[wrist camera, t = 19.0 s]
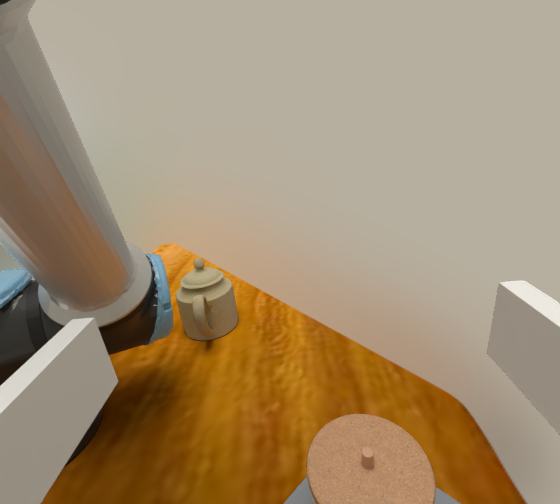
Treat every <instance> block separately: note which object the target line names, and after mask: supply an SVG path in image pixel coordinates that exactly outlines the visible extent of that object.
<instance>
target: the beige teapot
mask: <svg viewBox="0 0 560 504" xmlns="http://www.w3.org/2000/svg"><path fill="white" fill-rule="evenodd" d="M194 267H195V268H196V269H195V270H192V271H190V272H189V273H187V274H186V276H185V277H183V278H182V280H181V281H180V285H181V286H182V287H181V288H180V289H179V290H178V291H177V293H176V299H177V304H178V308H179V312H180V315H181V319H182V322H183V326H184V329H185V332H186V334H187V336H188V337H190V338H192V339H195V340H200V341H206V340H212V339H216V338H219V337H222V336H224V335H226V334H228V333H229V332H231V331H232V330H233V329H234V328H235V326H236V325H237V323H238V314H237V308H236V302H235V296H234V291H233V287H232V283H231V281H230V280H229V279H227V278H224V277H223V275H224V274H223V272H222V271H220V270H218V269H214V268H210V267H204V262H203V261H202V260H201V259H200V258H196V259H195V261H194Z"/></svg>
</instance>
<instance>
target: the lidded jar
mask: <svg viewBox="0 0 560 504" xmlns="http://www.w3.org/2000/svg"><path fill="white" fill-rule="evenodd" d="M306 467H307V478H308V483H309V487H310V492H311V497H312V501H313V504H434V502H435V489H436V486H435V478H434V473H433V470H432V466H431V464H430V462H429V460H428V457H427V456H426V454H425V452H424V451H423V449H422V448H421V446H420V445H419V444H418V443H417V441H416V440H415V439H414V438H413V437H412V436H411V435H410V434H409V433H407V432H406V431H405V430H403V429H402V428H401V427H400V426H398V425H396V424H394V423H392V422H391V421H388V420H386V419H384V418H381V417H377V416H373V415H368V414H350V415H346V416H342V417H339V418H337V419H334V420H333V421H331V422H329V423H328V424H326V425H325V426H324V427H323V428H322V429H321V430H320V431H319V432H318V433H317V434H316V436H315V437H314V439H313V441H312V443H311V445H310V448H309V451H308V455H307V466H306Z"/></svg>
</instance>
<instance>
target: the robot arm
mask: <svg viewBox="0 0 560 504" xmlns="http://www.w3.org/2000/svg"><path fill="white" fill-rule="evenodd" d="M34 2H35V0H0V245H1V246H2V247H3V248H4V249H5V250H6V251H7V252H8V253H9V254H10V255H11V256H12V257H13V258H14V259H15V260H16V261H17V262H18V263H19V264H20V265H21V266H22V267H23V268H24V269H25V270H26V271H27V272H28V273H29V274H28V273H27V272H26V271H25V270H23V269H16V270H14V269H10V270H5V271H1V272H0V504H40V503H41V502H42V500H43V499H44V497H45V496H46V494H47V493H48V491H49V489H50V488H51V486H52V485H53V483H54V482H55V480H56V478H57V477H58V475H59V474H60V472H61V471H62V469H63V467H64V466H65V465H66V464H67V463H68V462H70V461H71V460H72V459H73V458H74V457H75V456H76V455H77V454H78V453H79V452H80V451H81V450H82V449H83V448H84V447H85V446H86V445H87V444H88V442H89V441H90V440H91V438H92V437H93V435H94V434H95V432H96V431H97V429H98V427H99V425H100V422H101V419H102V414H103V409H102V406H103V405H104V403H105V402H106V400H107V399H108V397H109V396H110V394H111V392H112V391H113V389H114V388H115V386H116V385H117V383H118V379H117V376H116V374H115V371H114V368H113V366H112V363H111V360H110V358H109V355H111V354H115V353H118V352H121V351H125V350H128V349H131V348H134V347H138V346H141V345H149V344H151V343H152V342H153V341H156V340H159V339H162V338H164V337H166V336H168V335H169V334H170V333H171V331H172V329H173V312H172V306H171V304H170V303H171V300H170V291H169V286H168V281H167V276H166V272H165V268H164V264H163V261H162V259H161V257H160V256H158V255H157V254H151V255H150V254H144V253H143V251H142V250H141V249H139V248H138V247H137V246H135V245H133V244H132V243H130V242H127V241H125V240H124V238H123V235H122V233H121V231H120V228H119V226H118V224H117V221H116V219H115V217H114V215H113V213H112V210H111V208H110V206H109V203H108V201H107V199H106V196H105V194H104V192H103V190H102V187H101V185H100V183H99V180H98V178H97V176H96V173H95V171H94V169H93V167H92V164H91V162H90V160H89V157H88V155H87V153H86V151H85V148H84V146H83V144H82V142H81V139H80V137H79V135H78V133H77V130H76V128H75V126H74V123H73V121H72V119H71V117H70V114H69V112H68V110H67V108H66V105H65V103H64V100H63V98H62V96H61V94H60V91H59V89H58V87H57V84H56V82H55V80H54V78H53V75H52V73H51V71H50V68H49V66H48V64H47V62H46V60H45V57H44V55H43V52H42V50H41V48H40V46H39V43H38V41H37V39H36V37H35V34H34V32H33V30H32V27H31V25H30V23H29V20H28V13H29V11H30V9H31V8H32V6H33V4H34ZM31 276H32V277H33V278H34V279H35V280H34V281H33V280H31V279H32V277H31ZM487 354H488V355H489V356H490V357H491V358H492V360H493V361H494V362H495V363H496V364H497V365H498V366H499V367H500V368H501V370H502V371H503V372H504V373H505V374H506V375H507V376H508V378H509V379H510V380H511V381H512V382H513V383H514V384H515V385H516V386H517V387H518V389H519V390H520V391H521V392H522V393H523V394H524V395H525V397H526V398H527V399H528V400H529V401H530V402H531V403H532V404H533V405H534V407H535V408H536V409H537V410H538V411H539V412H540V413H541V414H542V416H543V417H544V418H545V419H546V420H547V421H548V422H549V423H550V425H551V426H552V427H553V428H554V429H555V430H556V431H557V432H558V433H559V435H560V303H558V302H557V301H555V300H554V299H552V298H551V297H549V296H548V295H546V294H544V293H543V292H541V291H539V290H538V289H537V288H535V287H534V286H532V285H530V284H529V283H527V282H526V281H524V280H521V281H510V282H500V283H499V284H498V290H497V296H496V302H495V308H494V314H493V320H492V325H491V332H490V338H489V343H488V349H487Z"/></svg>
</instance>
